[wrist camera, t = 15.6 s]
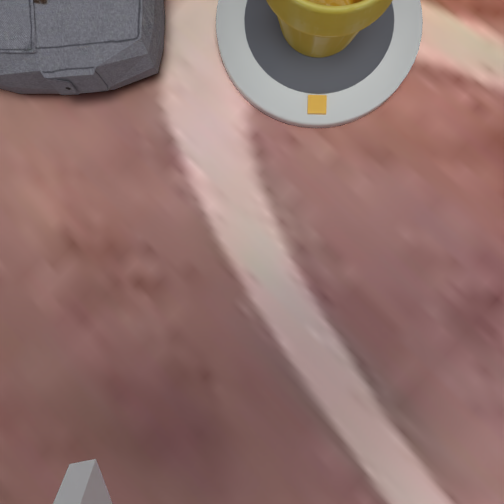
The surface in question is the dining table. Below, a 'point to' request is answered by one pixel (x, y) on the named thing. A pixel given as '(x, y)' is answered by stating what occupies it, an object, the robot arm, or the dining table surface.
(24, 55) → the soft grey pack
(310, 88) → the base
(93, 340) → the dining table surface
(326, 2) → the plant pot
